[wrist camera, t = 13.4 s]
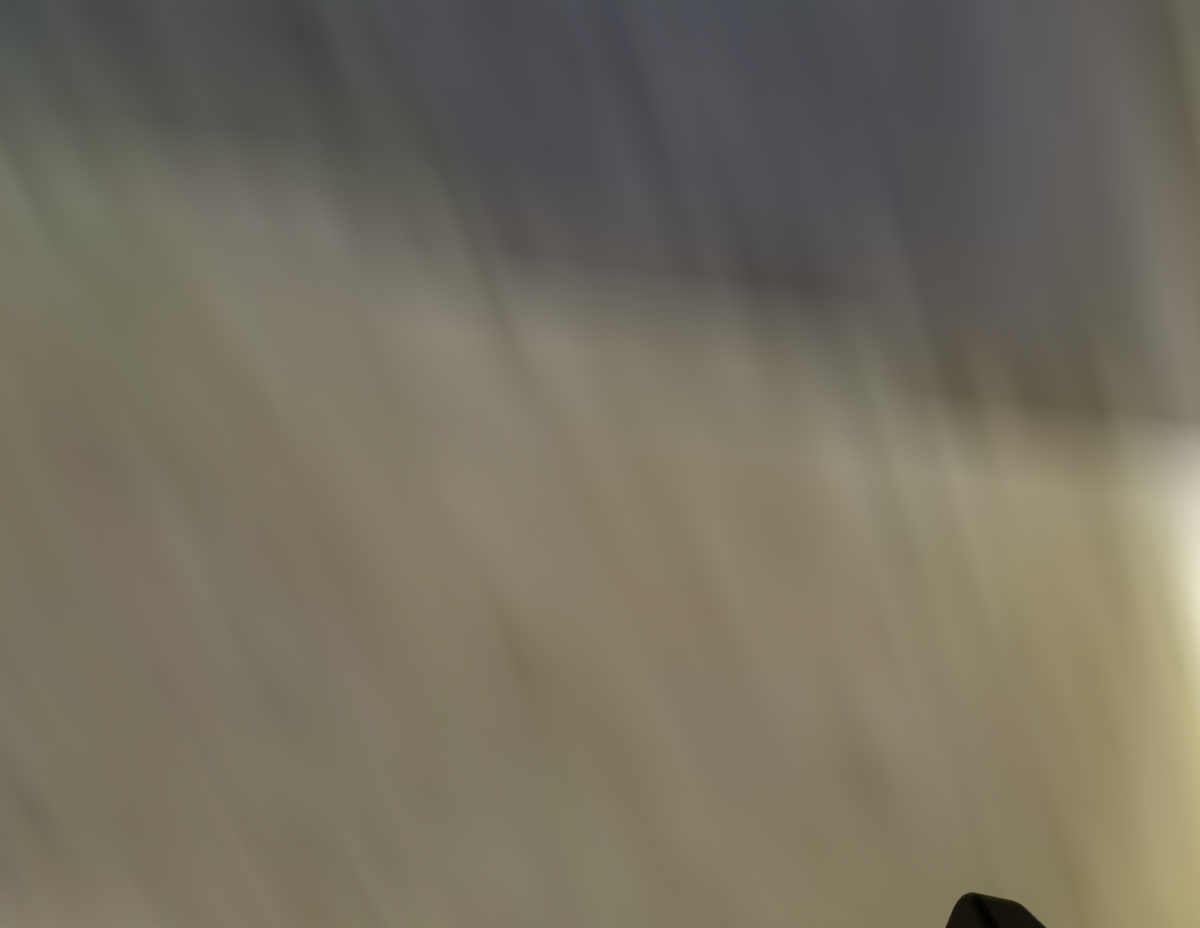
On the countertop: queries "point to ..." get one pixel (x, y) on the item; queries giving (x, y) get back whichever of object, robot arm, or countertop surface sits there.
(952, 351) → the countertop surface
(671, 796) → the countertop surface
